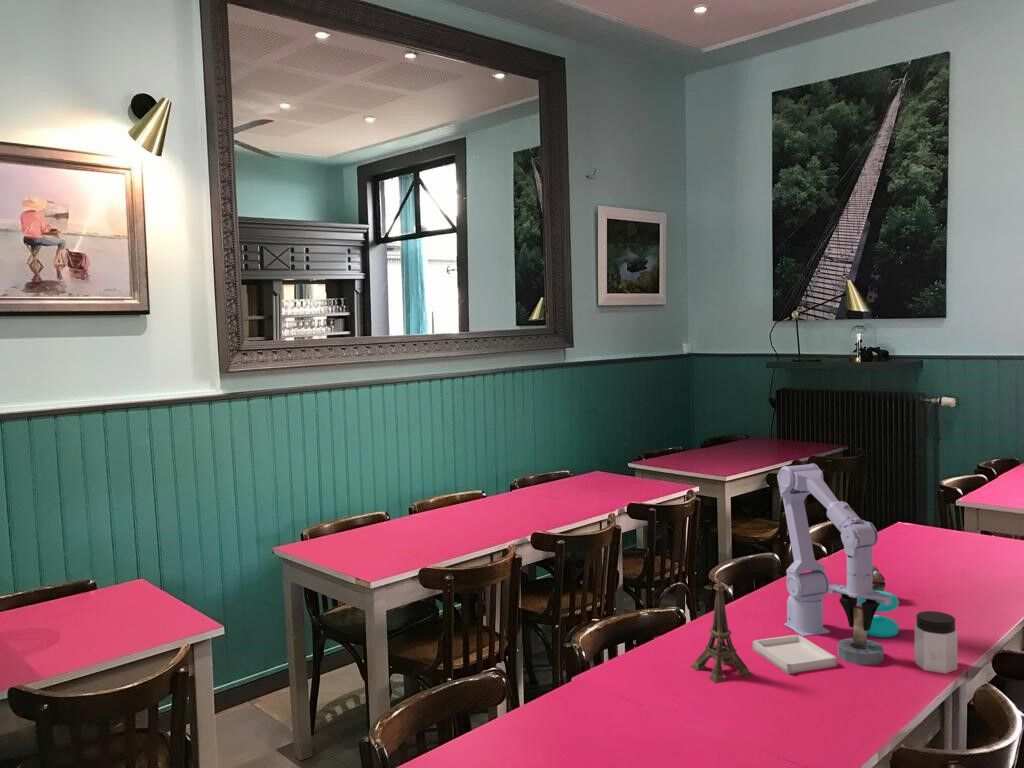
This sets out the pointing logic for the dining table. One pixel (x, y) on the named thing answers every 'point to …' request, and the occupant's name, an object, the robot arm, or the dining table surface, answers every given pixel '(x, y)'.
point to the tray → (794, 653)
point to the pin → (859, 626)
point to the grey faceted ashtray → (860, 652)
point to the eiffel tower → (720, 643)
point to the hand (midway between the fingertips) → (859, 627)
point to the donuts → (883, 619)
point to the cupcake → (877, 580)
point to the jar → (936, 642)
